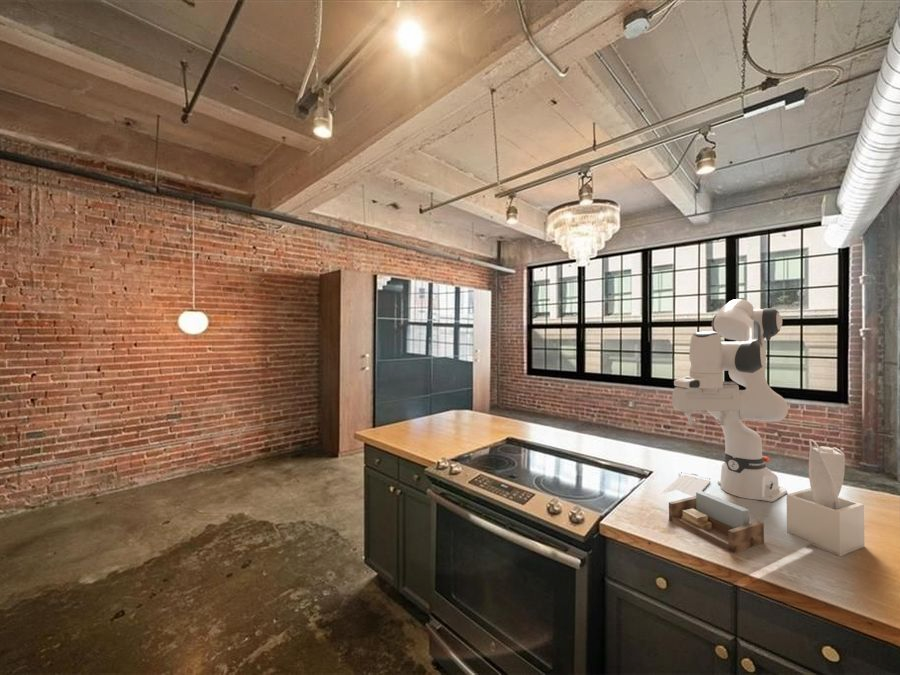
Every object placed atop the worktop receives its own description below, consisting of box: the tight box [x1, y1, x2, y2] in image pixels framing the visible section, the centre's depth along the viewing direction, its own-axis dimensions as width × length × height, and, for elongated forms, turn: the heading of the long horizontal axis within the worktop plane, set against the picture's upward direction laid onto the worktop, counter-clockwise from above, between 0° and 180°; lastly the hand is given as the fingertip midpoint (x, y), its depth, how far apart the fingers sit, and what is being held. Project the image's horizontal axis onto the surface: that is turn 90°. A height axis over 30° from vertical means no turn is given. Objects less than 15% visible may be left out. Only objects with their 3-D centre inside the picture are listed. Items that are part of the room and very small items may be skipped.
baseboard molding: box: [660, 472, 711, 497], centre depth 143 cm, size 31×3×12 cm
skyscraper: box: [808, 438, 846, 510], centre depth 107 cm, size 8×8×28 cm
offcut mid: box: [681, 516, 713, 532], centre depth 115 cm, size 4×6×2 cm
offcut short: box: [683, 508, 708, 525], centre depth 115 cm, size 4×5×2 cm
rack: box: [668, 496, 765, 554], centre depth 112 cm, size 13×19×7 cm
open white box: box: [785, 487, 865, 557], centre depth 108 cm, size 12×12×12 cm
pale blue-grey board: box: [696, 491, 750, 528], centre depth 113 cm, size 2×14×10 cm, turn 20°
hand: (706, 424), depth 118 cm, fingers open, 8 cm apart
